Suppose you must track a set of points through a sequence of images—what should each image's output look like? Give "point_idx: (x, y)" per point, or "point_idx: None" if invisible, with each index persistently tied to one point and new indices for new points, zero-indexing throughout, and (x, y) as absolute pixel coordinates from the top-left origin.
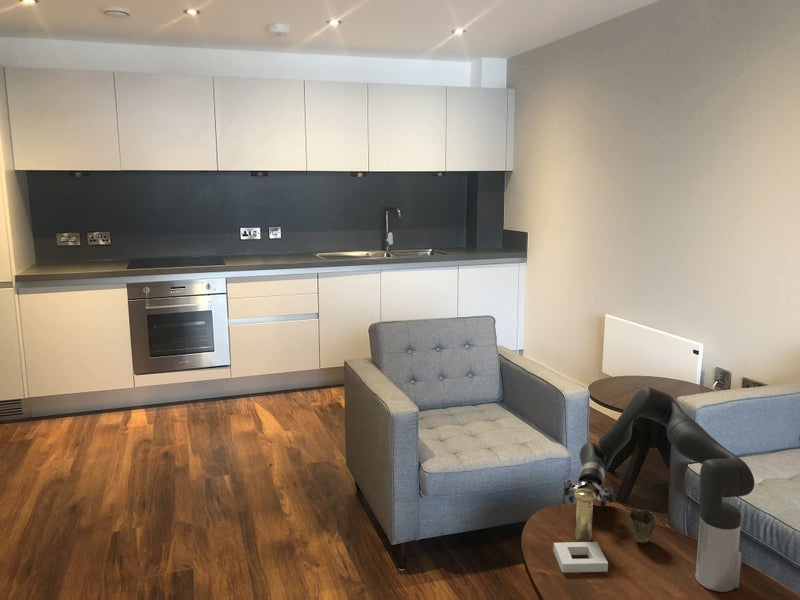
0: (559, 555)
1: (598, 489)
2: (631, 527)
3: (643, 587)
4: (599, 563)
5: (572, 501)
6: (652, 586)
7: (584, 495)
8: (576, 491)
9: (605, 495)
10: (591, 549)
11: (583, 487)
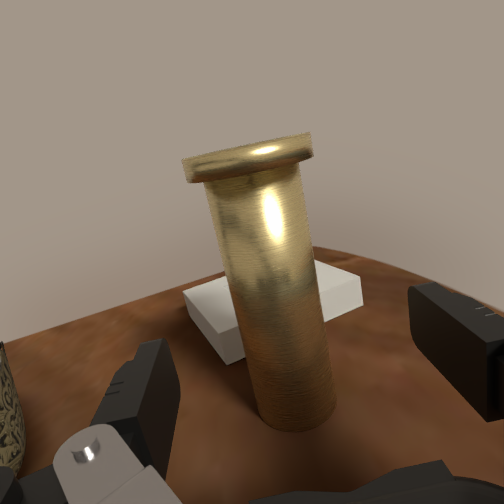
0: (314, 260)
1: (161, 482)
2: (20, 405)
3: (108, 317)
4: (205, 283)
5: (413, 323)
6: (84, 326)
7: (245, 145)
8: (299, 134)
9: (86, 434)
10: (232, 303)
11: (475, 495)
